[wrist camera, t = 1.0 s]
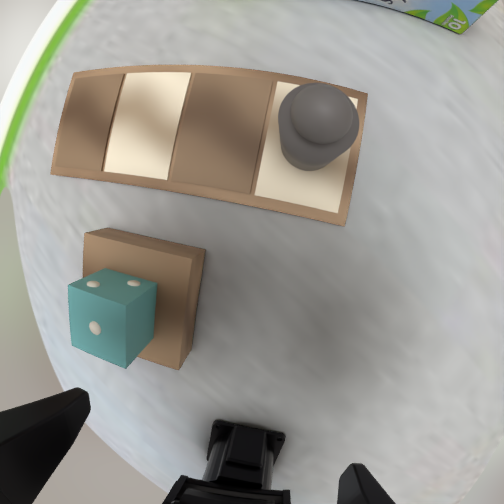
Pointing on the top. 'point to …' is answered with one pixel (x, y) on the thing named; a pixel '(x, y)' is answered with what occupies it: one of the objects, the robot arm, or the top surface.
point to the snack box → (442, 11)
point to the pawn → (316, 125)
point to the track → (198, 137)
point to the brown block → (168, 284)
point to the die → (112, 315)
